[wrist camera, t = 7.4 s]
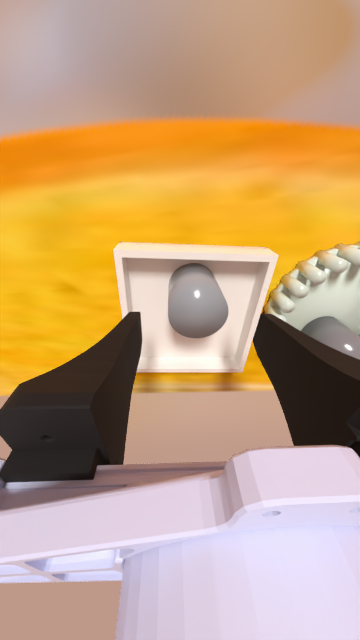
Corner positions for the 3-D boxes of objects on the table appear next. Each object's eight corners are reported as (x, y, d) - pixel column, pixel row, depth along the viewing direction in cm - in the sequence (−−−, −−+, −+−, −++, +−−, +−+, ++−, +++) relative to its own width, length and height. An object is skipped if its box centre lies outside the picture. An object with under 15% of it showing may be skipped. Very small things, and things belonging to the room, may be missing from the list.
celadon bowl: (431, 244, 17) (471, 253, 14) (353, 355, 24) (372, 373, 21) (285, 238, 16) (303, 247, 14) (248, 355, 23) (256, 373, 21)
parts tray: (266, 247, 16) (278, 255, 14) (236, 357, 23) (242, 372, 21) (120, 241, 16) (113, 249, 14) (132, 356, 22) (129, 372, 20)
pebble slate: (224, 275, 17) (240, 302, 13) (200, 313, 19) (208, 345, 15) (181, 254, 16) (185, 276, 12) (160, 296, 18) (158, 326, 14)
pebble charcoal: (348, 324, 20) (389, 356, 16) (317, 352, 22) (348, 386, 18) (320, 310, 19) (357, 340, 15) (290, 340, 21) (316, 374, 17)
